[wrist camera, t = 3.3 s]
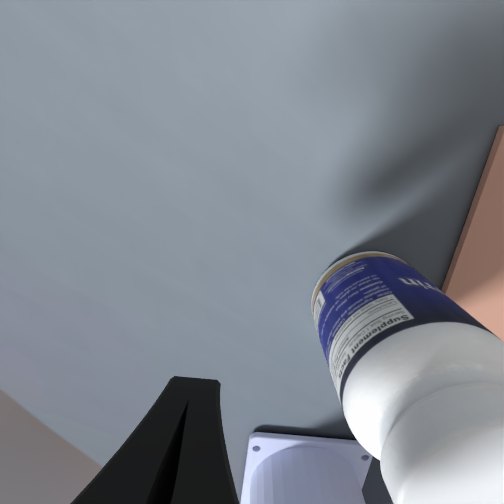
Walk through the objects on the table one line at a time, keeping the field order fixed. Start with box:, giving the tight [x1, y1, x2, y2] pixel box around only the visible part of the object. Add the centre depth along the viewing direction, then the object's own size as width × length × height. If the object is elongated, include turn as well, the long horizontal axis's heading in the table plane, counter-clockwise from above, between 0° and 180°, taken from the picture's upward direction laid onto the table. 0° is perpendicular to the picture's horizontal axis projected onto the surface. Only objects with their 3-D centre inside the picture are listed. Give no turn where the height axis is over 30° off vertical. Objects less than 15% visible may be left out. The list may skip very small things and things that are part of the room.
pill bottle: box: [311, 251, 504, 504], centre depth 12 cm, size 6×6×10 cm
